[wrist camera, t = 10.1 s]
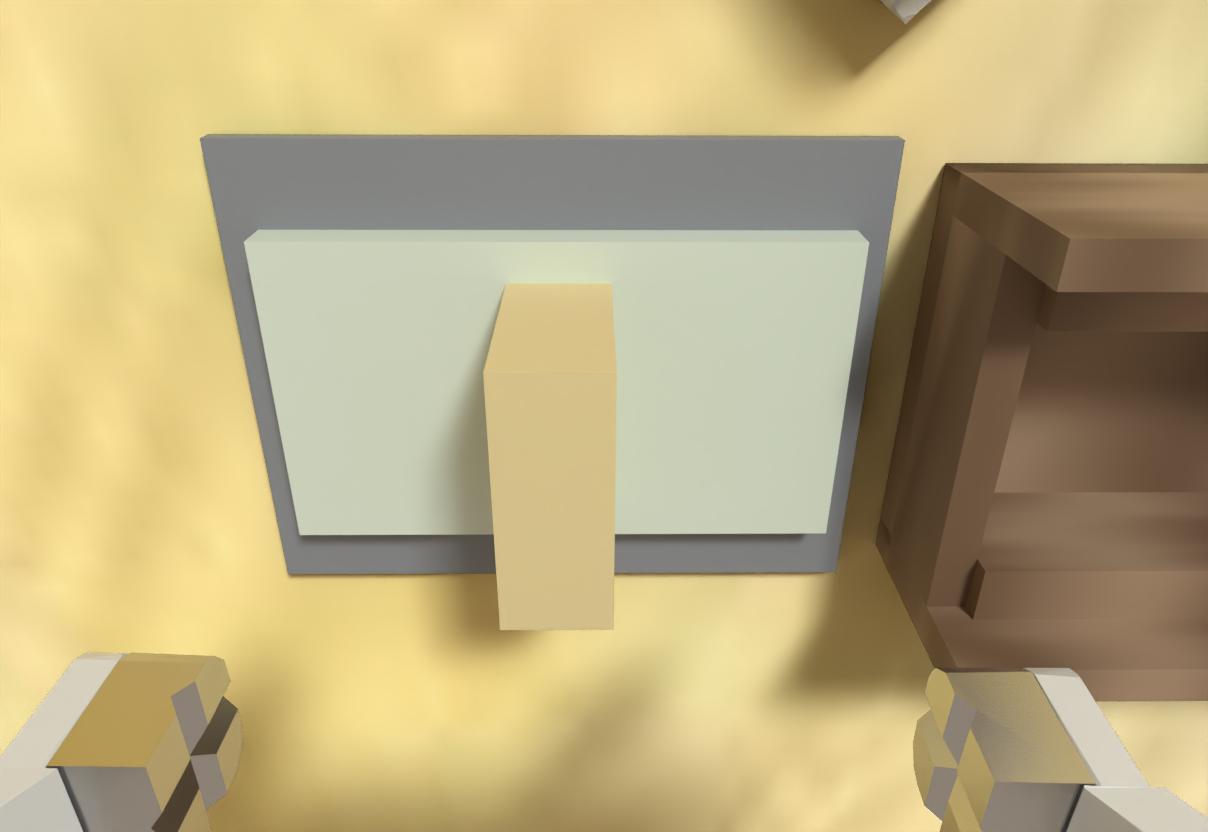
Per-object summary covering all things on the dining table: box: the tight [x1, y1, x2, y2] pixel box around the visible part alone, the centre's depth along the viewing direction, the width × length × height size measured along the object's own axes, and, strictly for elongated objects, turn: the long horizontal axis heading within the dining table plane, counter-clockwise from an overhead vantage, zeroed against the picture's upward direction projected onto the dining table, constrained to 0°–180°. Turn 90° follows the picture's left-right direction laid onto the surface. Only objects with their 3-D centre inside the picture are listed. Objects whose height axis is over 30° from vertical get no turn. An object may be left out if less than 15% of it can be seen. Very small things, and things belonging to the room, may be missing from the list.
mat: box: [200, 134, 905, 574], centre depth 19 cm, size 13×10×1 cm
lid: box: [244, 230, 869, 630], centre depth 17 cm, size 12×7×5 cm, turn 90°
